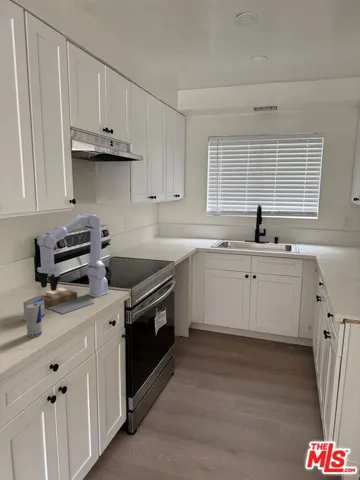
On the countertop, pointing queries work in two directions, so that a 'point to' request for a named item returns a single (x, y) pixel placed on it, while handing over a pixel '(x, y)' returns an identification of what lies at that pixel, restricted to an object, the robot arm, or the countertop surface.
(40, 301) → the medicine box
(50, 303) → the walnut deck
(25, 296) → the countertop surface
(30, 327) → the energy drink
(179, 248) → the countertop surface
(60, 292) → the birch tile
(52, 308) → the slate mat
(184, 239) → the countertop surface
